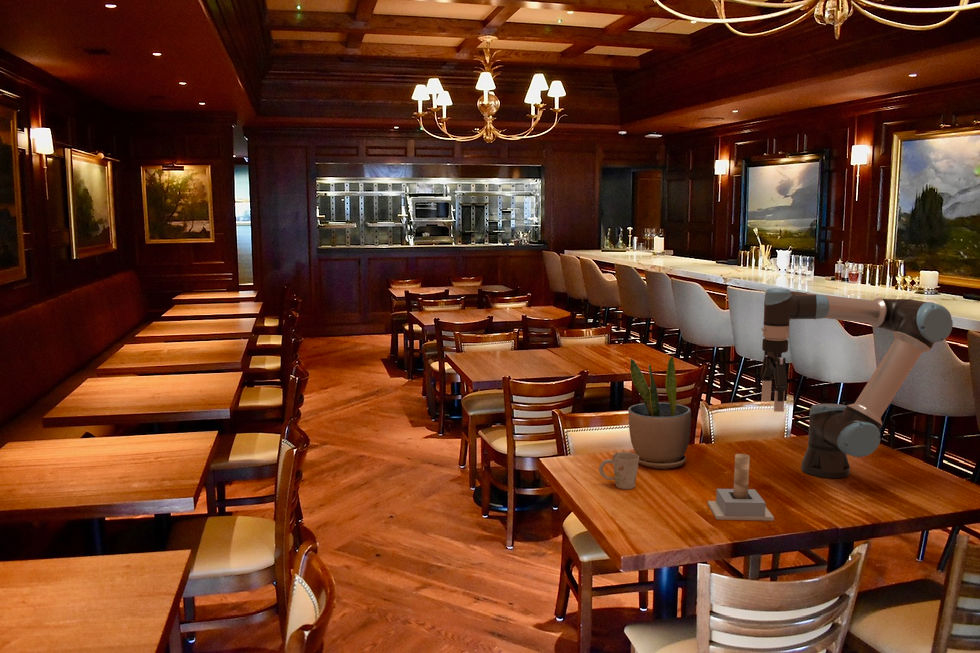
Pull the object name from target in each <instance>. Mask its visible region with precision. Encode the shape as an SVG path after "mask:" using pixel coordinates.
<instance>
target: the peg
mask: <svg viewBox="0 0 980 653" xmlns="http://www.w3.org/2000/svg"><path fill="white" fill-rule="evenodd" d="M733 470H734V475H733V489H734V492H733V499H748V489H749V480H750V479H749V477H750V476H749V475H750V455H749V454H746V453H736V454H734V469H733Z"/></svg>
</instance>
